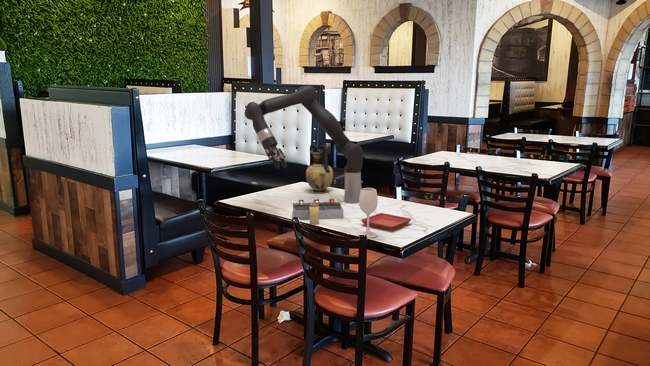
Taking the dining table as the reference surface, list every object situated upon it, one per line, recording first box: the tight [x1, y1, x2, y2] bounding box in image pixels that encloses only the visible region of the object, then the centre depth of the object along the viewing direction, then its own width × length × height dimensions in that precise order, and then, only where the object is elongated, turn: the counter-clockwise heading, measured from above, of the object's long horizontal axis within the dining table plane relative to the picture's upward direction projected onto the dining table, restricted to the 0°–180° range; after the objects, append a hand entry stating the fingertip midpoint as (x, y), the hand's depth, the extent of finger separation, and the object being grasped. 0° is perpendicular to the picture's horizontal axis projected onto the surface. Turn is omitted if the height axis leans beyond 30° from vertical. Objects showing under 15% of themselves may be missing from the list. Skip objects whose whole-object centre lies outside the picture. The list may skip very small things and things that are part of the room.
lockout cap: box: [309, 201, 320, 226], centre depth 242 cm, size 4×4×10 cm
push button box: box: [292, 198, 345, 221], centre depth 256 cm, size 25×13×7 cm, turn 97°
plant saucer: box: [360, 212, 412, 232], centre depth 240 cm, size 18×18×3 cm
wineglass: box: [357, 187, 378, 239], centre depth 222 cm, size 9×9×21 cm
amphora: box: [305, 143, 334, 194], centre depth 310 cm, size 18×17×30 cm
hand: (282, 167), depth 250 cm, fingers open, 8 cm apart
